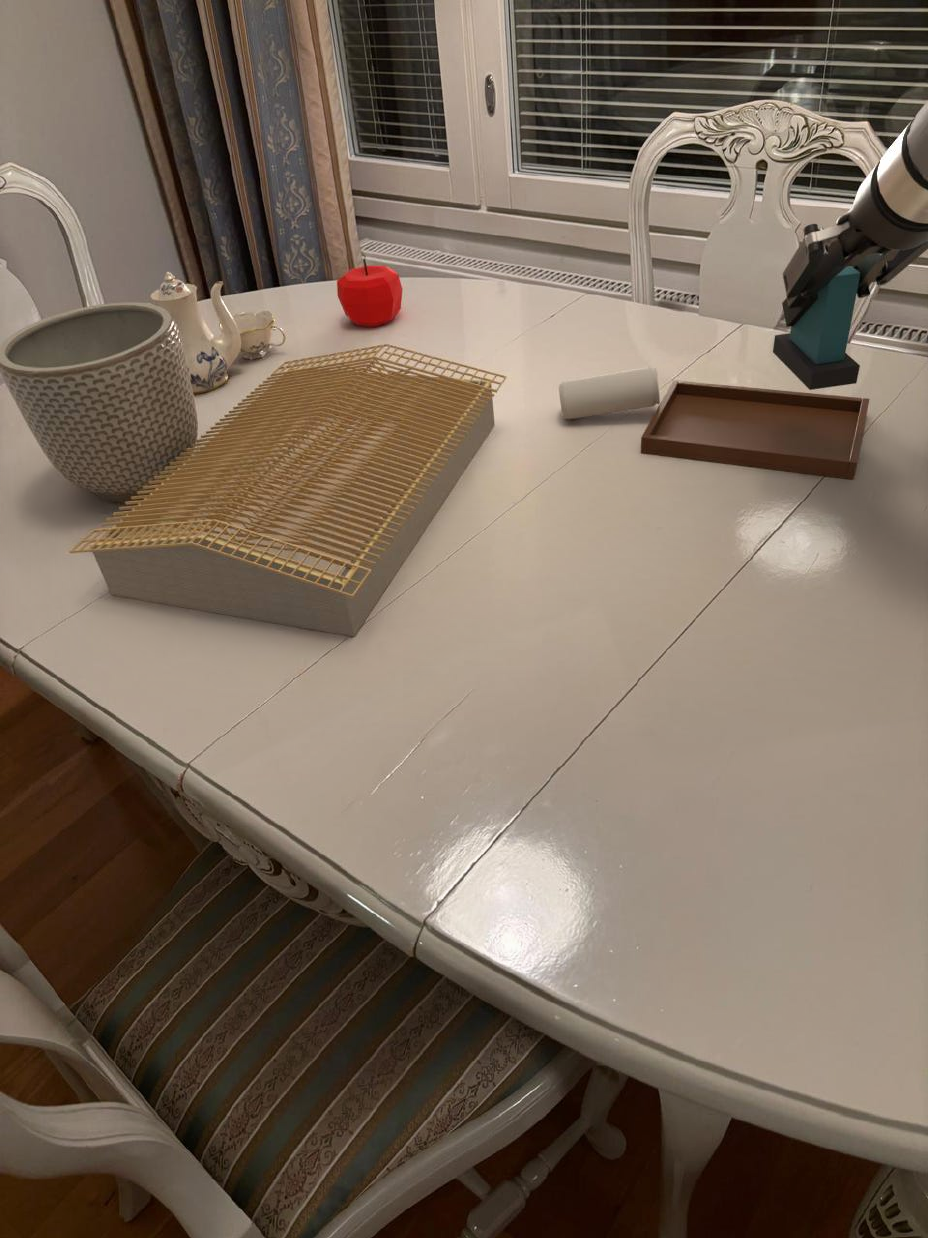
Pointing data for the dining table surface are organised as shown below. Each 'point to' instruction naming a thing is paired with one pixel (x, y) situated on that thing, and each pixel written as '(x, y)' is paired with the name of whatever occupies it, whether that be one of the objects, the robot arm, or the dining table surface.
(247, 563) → the roof frame
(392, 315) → the apple
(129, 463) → the planter
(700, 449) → the tray
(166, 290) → the chinaware
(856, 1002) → the dining table surface
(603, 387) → the beverage can
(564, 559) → the dining table surface
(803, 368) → the teal block on base
